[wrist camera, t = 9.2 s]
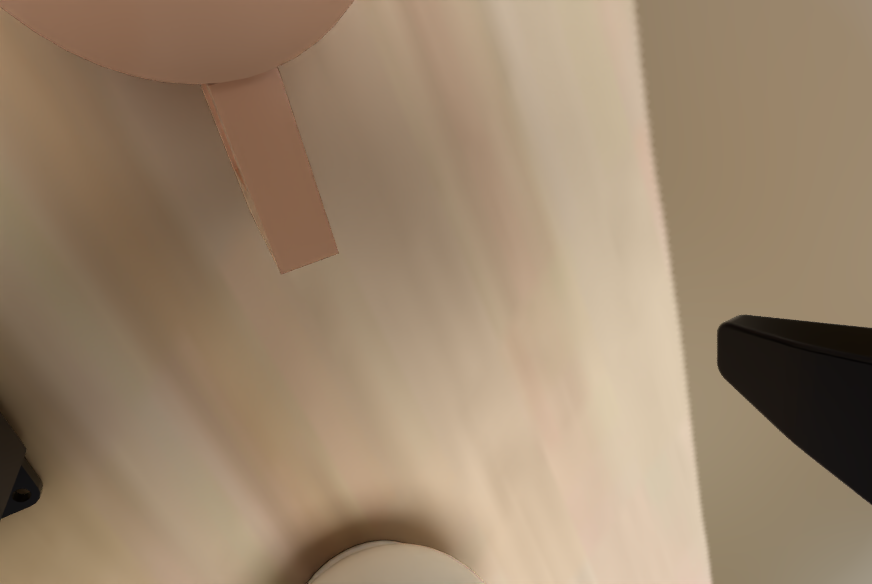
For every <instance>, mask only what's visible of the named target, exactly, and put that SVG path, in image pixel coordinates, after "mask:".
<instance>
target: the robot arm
mask: <svg viewBox="0 0 872 584" xmlns="http://www.w3.org/2000/svg"><path fill="white" fill-rule="evenodd" d="M717 366H718V369H719V371H720V373H721V375H722V376H723V377H724V378H725V379H726V380H727V381H728V382H729V383H730V384H731V385H732V386H733V387H734V388H735V389H736V390H737V391H738V392H739V393H740V394H741V395H743V397H745V398H746V399H747V400H748V401H749V402H750V403H751V404H752V405H753V406H754V407H755V408H756V409H758V411H759V412H760V413H762V414H763V415H764V416H765V417H766V418H767V419H768V420H769V421H770V422H771V423H772V424H773V425H774V426H776V428H777V429H779V430H780V431H781V432H782V433H783V434H784V435H785V436H786V437H787V438H788V439H790V440H791V441H792V442H793V443H794V444H795V445H796V446H798V447H799V448H800V449H801V450H803V451H804V452H805V453H806V454H808V455H809V456H810V457H811V458H812V459H814V460H815V461H816V462H818V463H819V464H820V465H822V466H823V467H824V468H825V469H827V470H828V471H829V472H830V473H832V474H833V475H834V476H835V477H837V478H838V479H839V480H840V481H842V482H843V483H844V484H846V485H847V486H848V487H849V488H851V489H852V490H853V491H854V492H856V493H857V494H858V495H860V496H861V497H862V498H863V499H865V500H866V501H867V502H868V503H870V504H871V505H872V328H867V327H857V326H847V325H838V324H827V323H819V322H809V321H799V320H790V319H780V318H771V317H761V316H752V315H739V316H736V317H734V318H732V319H730V320H728V321H725V322H723V323H722V324H721V325H720V326H719V328H718V330H717ZM25 454H26V447H25V446H24V444H23V443H22V442H21V440H20V439H19V437H18V436H17V435H16V433H15V432H14V430H13V429H12V428H11V426H10V425H9V423H8V422H7V421H6V419H5V418H4V417H3V415H2V414H1V412H0V520H1V519H2V518H4V517H6V516H9V515H11V514H13V513H16V512H18V511H20V510H23V509H25V508H28V507H30V506H32V505H33V504H35V503H36V502H37V501H38V499H39V498H40V495H41V492H42V487H43V484H42V482H41V480H40V478H39V477H38V476H37V474H36V473H35V472H34V470H33V469H32V467H31V466H30V465H29V463H28V462H27V461H26V459H25V458H24V456H25ZM17 489H27V490H29V491H30V493H27V494H20V493H18V492H16V490H17Z"/></svg>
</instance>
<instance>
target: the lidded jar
mask: <svg viewBox="0 0 872 584" xmlns="http://www.w3.org/2000/svg"><path fill="white" fill-rule="evenodd" d="M307 584H486V583H485V582H484V581H483V580H482V579H481V578H480V577H479V576H478V575H477V574H476V573H475V572H474V571H473V570H472V569H470V568H469V567H467V566H466V565H464V564H463V563H461V562H460V561H458V560H457V559H455V558H454V557H452V556H450V555H449V554H446V553H443V552H441V551H438V550H436V549H433V548H430V547H427V546H422V545H416V544H404V543H401V542H397V541H392V540H379V541H371V542H367V543H363V544H360V545H357V546H354V547H352V548H349V549H347V550H345V551H344V552H342V553H340V554H338V555H337V556H335V557H334V558H332V559H330V560H329V561H328V562H327V563H326V564H324V565H323V566H322V567H321V568H320V569H319V570H318V571H317V572H316V573H315V574H314V575H313V576H312V578H311V579H310V580H309V582H308V583H307Z"/></svg>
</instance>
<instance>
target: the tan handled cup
mask: <svg viewBox="0 0 872 584" xmlns="http://www.w3.org/2000/svg"><path fill="white" fill-rule="evenodd" d="M352 2H353V0H0V7H1V8H2V9H4V10H5V11H6V12H8V13H9V14H11V15H12V16H13V17H15V18H16V19H17V20H19V21H20V22H22V23H23V24H24V25H26V26H27V27H29V28H30V29H31V30H33V31H34V32H36V33H37V34H39V35H41V36H42V37H44V38H46V39H48V40H49V41H51V42H53V43H54V44H56V45H58V46H60V47H61V48H63V49H65V50H67V51H68V52H71V53H73V54H75V55H77V56H80V57H82V58H84V59H86V60H89V61H91V62H93V63H95V64H98V65H100V66H103V67H106V68H109V69H112V70H115V71H118V72H121V73H124V74H128V75H131V76H135V77H140V78H145V79H150V80H155V81H160V82H168V83H182V84H200V85H201V88H202V90H203V93H204V96H205V98H206V101H207V103H208V106H209V108H210V111H211V113H212V116H213V119H214V121H215V124H216V126H217V129H218V131H219V134H220V136H221V139H222V142H223V144H224V147H225V149H226V152H227V154H228V157H229V160H230V162H231V165H232V167H233V170H234V172H235V175H236V177H237V180H238V183H239V185H240V188H241V190H242V193H243V195H244V198H245V200H246V203H247V206H248V208H249V211H250V213H251V215H252V217H253V219H254V221H255V223H256V225H257V227H258V229H259V231H260V233H261V235H262V237H263V239H264V241H265V243H266V245H267V247H268V249H269V251H270V253H271V255H272V257H273V259H274V261H275V263H276V265H277V267H278V269H279V271H280V273H281V274H284V273H287V272H289V271H292V270H295V269H297V268H300V267H303V266H306V265H308V264H311V263H314V262H317V261H319V260H322V259H325V258H328V257H330V256H333V255H336V254H338V253H339V252H338V249H337V246H336V243H335V240H334V237H333V234H332V231H331V228H330V225H329V222H328V219H327V216H326V213H325V210H324V207H323V203H322V200H321V197H320V194H319V191H318V188H317V185H316V182H315V179H314V176H313V173H312V170H311V167H310V164H309V161H308V158H307V155H306V152H305V149H304V146H303V143H302V140H301V136H300V133H299V130H298V127H297V124H296V121H295V118H294V115H293V112H292V109H291V106H290V103H289V100H288V97H287V94H286V91H285V88H284V85H283V82H282V79H281V76H280V73H279V69H278V66H280V65H282V64H284V63H286V62H288V61H290V60H292V59H294V58H296V57H297V56H299V55H300V54H301V53H303V52H304V51H306V50H307V49H308V48H310V47H311V46H312V45H314V44H315V43H317V42H318V41H319V40H320V39H321V38H322V37H323V36H324V35H325V34H326V33H327V32H328V31H329V30H330V29H331V28H332V27H333V26H334V25H335V24H336V23H337V22H338V21H339V19H340V18H341V17H342V15H343V14H344V13H345V12H346V10H347V9H348V8H349V6H350V5H351V4H352Z"/></svg>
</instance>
